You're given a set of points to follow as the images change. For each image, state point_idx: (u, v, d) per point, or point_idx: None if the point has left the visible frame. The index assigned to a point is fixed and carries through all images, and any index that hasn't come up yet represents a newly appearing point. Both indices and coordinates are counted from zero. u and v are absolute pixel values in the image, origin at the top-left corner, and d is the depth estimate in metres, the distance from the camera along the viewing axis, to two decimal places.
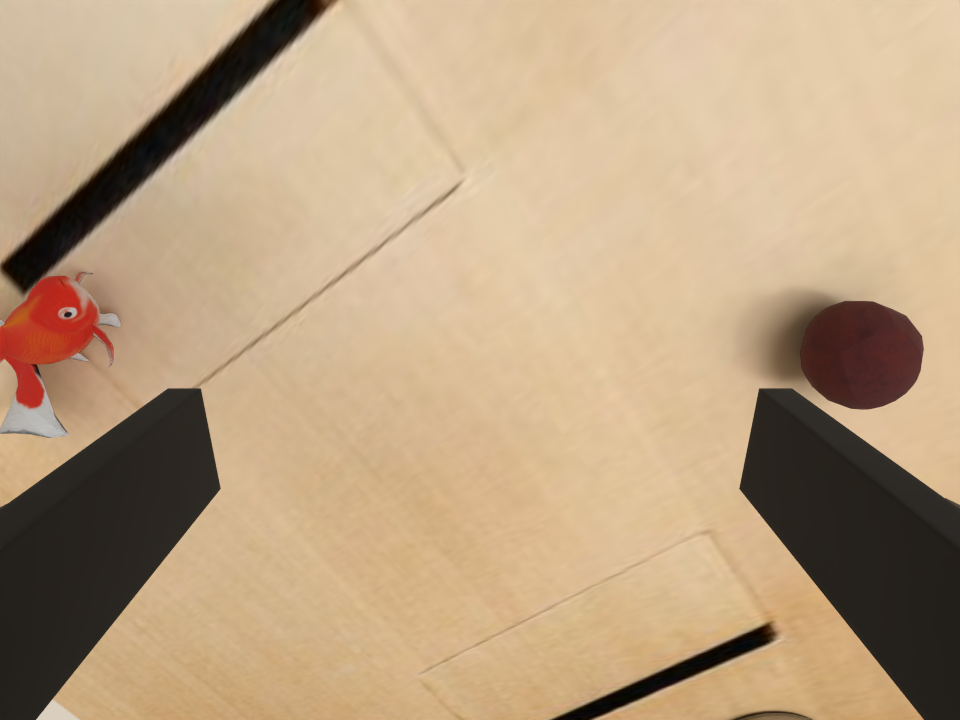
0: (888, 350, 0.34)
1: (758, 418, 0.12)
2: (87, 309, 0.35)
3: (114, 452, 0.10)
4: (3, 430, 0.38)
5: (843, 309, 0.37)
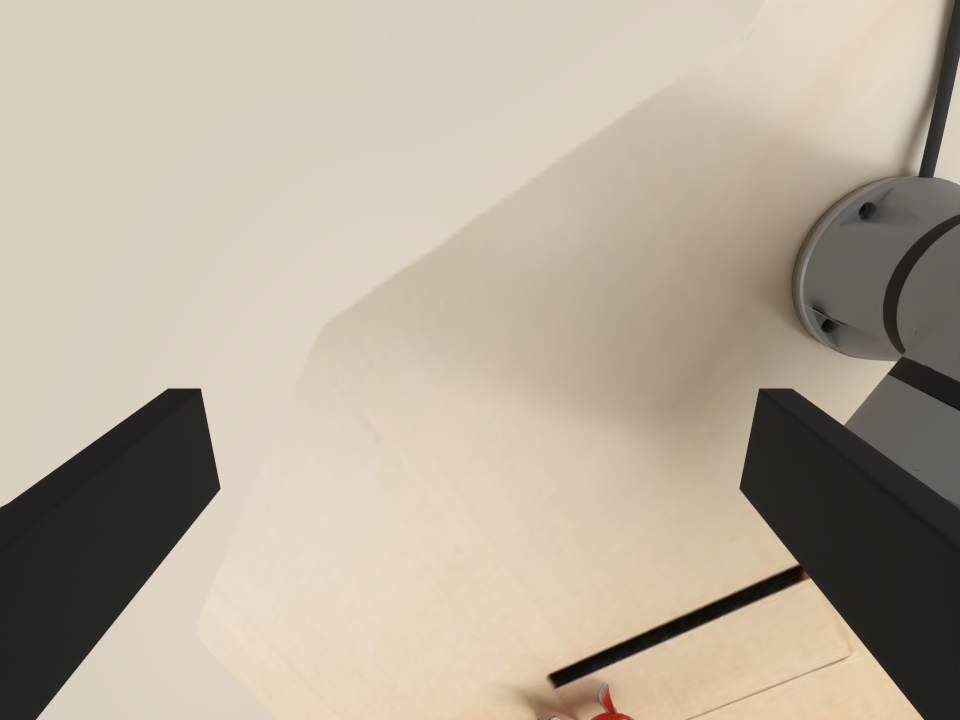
0: None
1: (758, 418, 0.12)
2: None
3: (114, 452, 0.10)
4: None
5: None
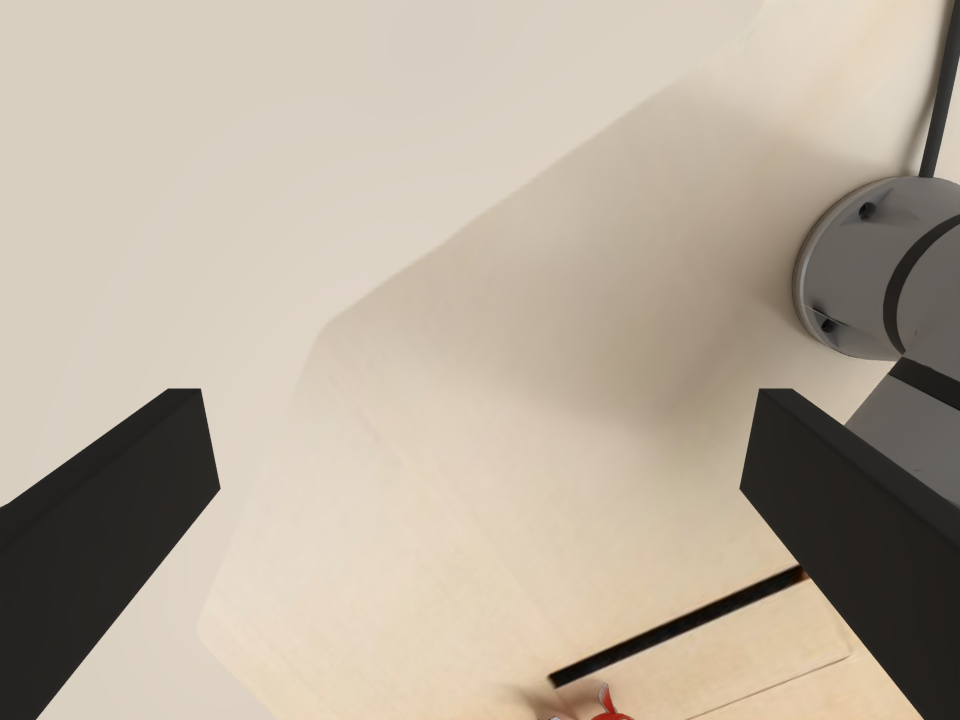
0: None
1: (758, 418, 0.12)
2: None
3: (114, 452, 0.10)
4: None
5: None
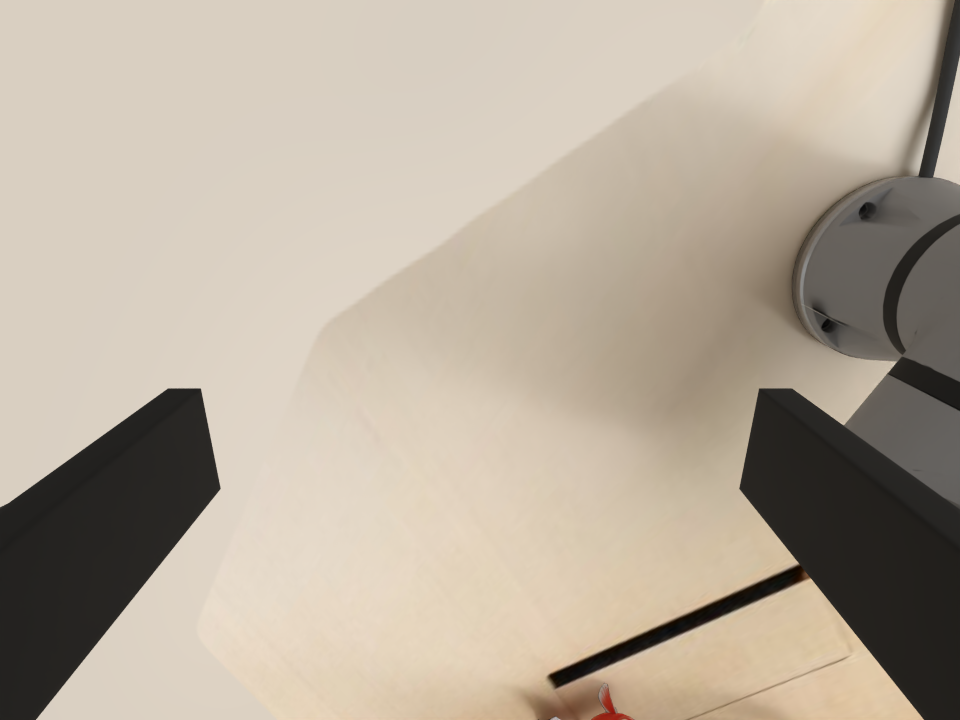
0: None
1: (758, 418, 0.12)
2: None
3: (114, 452, 0.10)
4: None
5: None
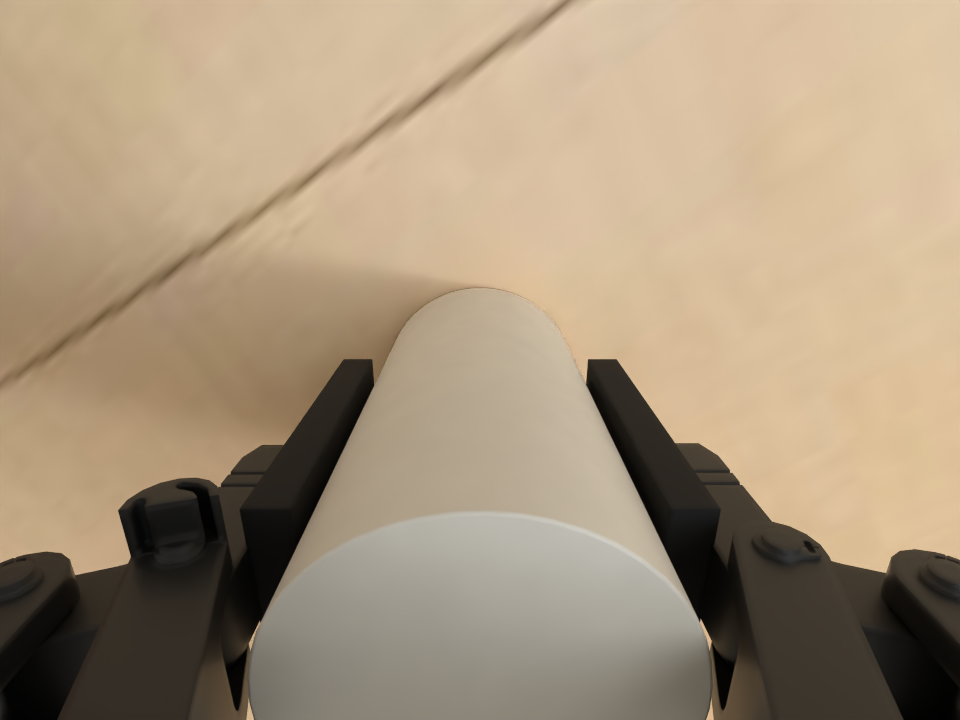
0: None
1: (588, 385, 0.14)
2: None
3: (341, 405, 0.11)
4: None
5: None
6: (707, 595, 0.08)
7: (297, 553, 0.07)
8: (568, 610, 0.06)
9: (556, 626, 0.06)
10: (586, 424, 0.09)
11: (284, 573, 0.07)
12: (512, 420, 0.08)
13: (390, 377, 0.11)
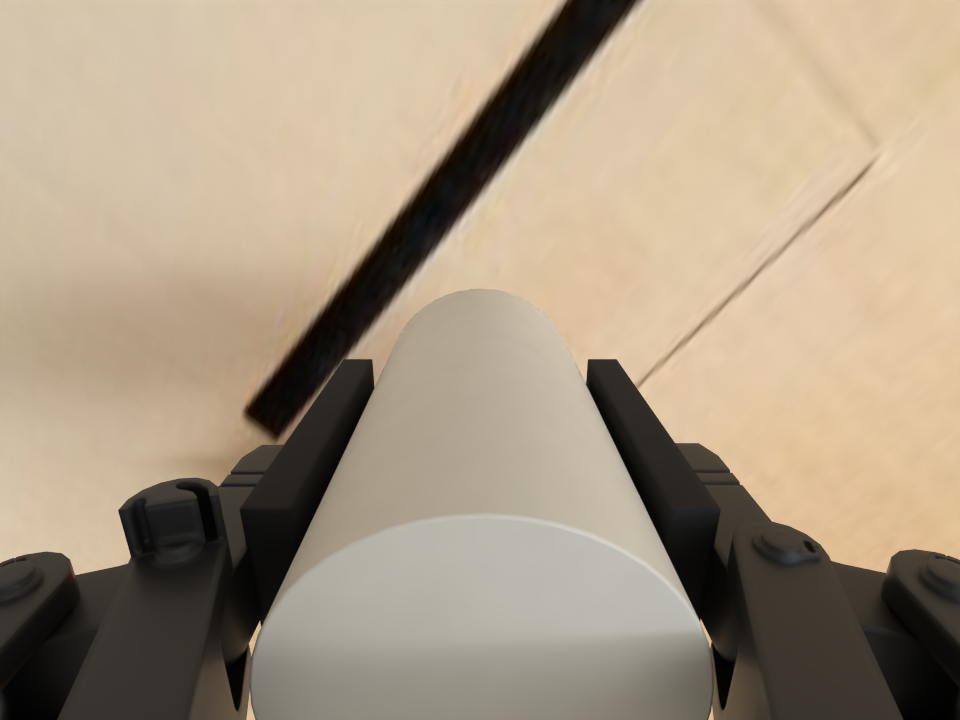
0: None
1: (587, 385, 0.14)
2: None
3: (341, 406, 0.11)
4: None
5: None
6: (707, 594, 0.08)
7: (299, 556, 0.07)
8: (568, 614, 0.06)
9: (559, 629, 0.06)
10: (587, 426, 0.09)
11: (286, 576, 0.07)
12: (512, 423, 0.08)
13: (391, 379, 0.11)
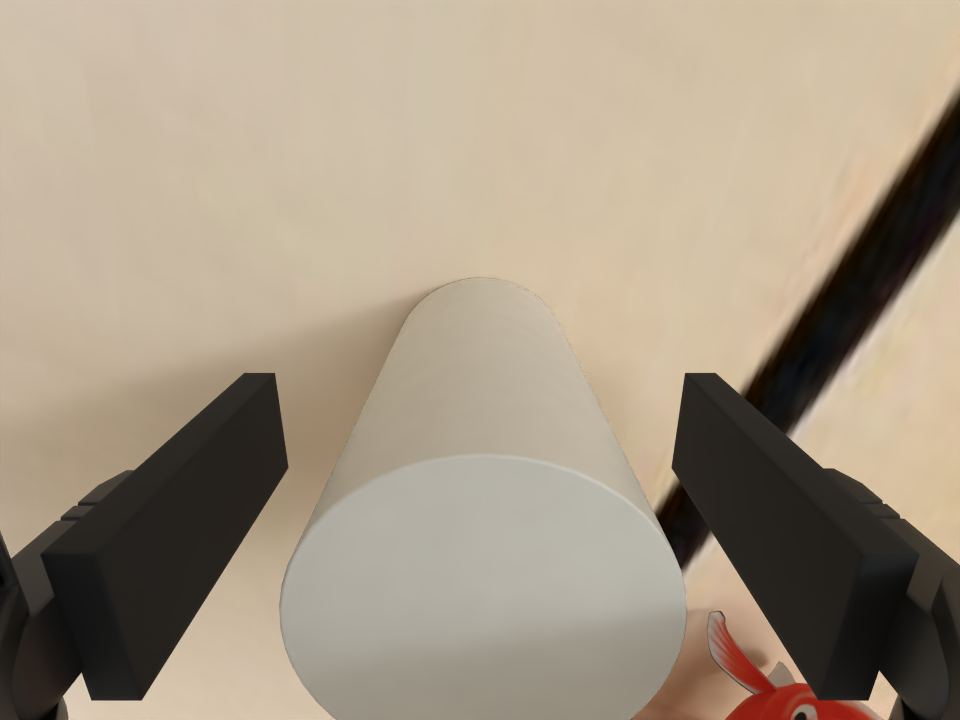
0: None
1: (684, 400, 0.13)
2: None
3: (215, 427, 0.10)
4: None
5: None
6: (894, 647, 0.07)
7: (322, 498, 0.08)
8: (559, 544, 0.07)
9: (550, 558, 0.07)
10: (578, 394, 0.10)
11: (311, 516, 0.08)
12: (510, 386, 0.09)
13: (399, 356, 0.12)
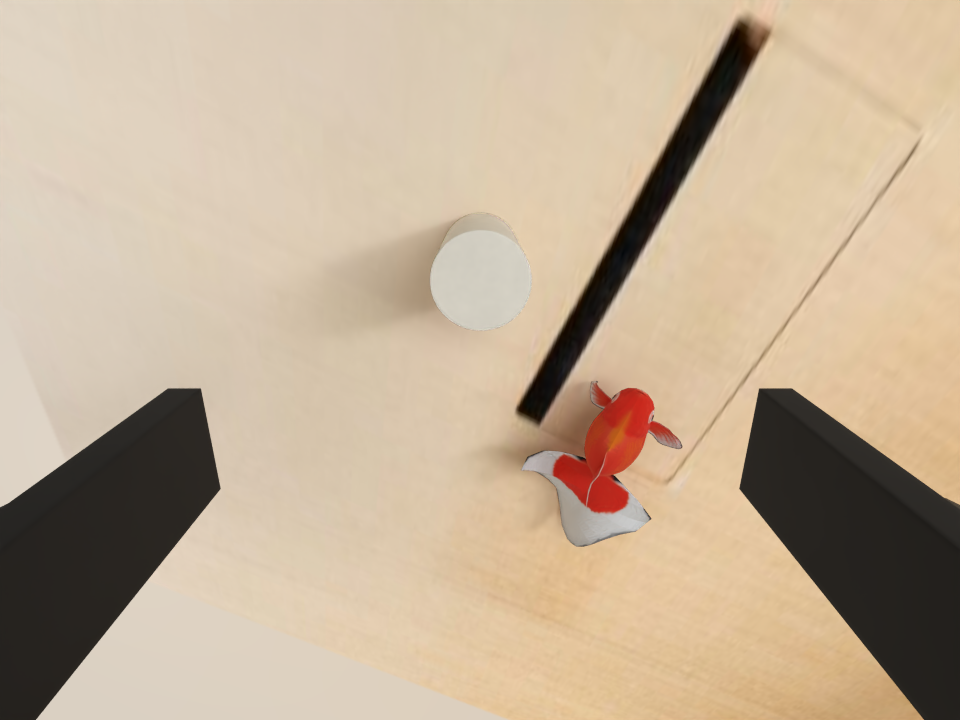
0: None
1: (758, 418, 0.12)
2: None
3: (114, 452, 0.10)
4: (592, 541, 0.43)
5: None
6: None
7: (440, 248, 0.30)
8: (498, 254, 0.29)
9: (496, 258, 0.29)
10: (509, 233, 0.32)
11: (437, 253, 0.30)
12: (488, 226, 0.31)
13: (451, 230, 0.34)
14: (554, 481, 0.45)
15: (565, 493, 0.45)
